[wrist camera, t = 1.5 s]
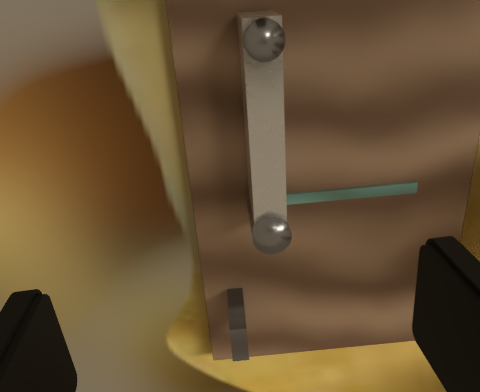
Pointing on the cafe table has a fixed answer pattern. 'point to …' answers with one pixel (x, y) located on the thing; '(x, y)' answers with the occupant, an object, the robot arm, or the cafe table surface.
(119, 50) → the cafe table surface
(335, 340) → the jamb plate
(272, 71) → the bar
